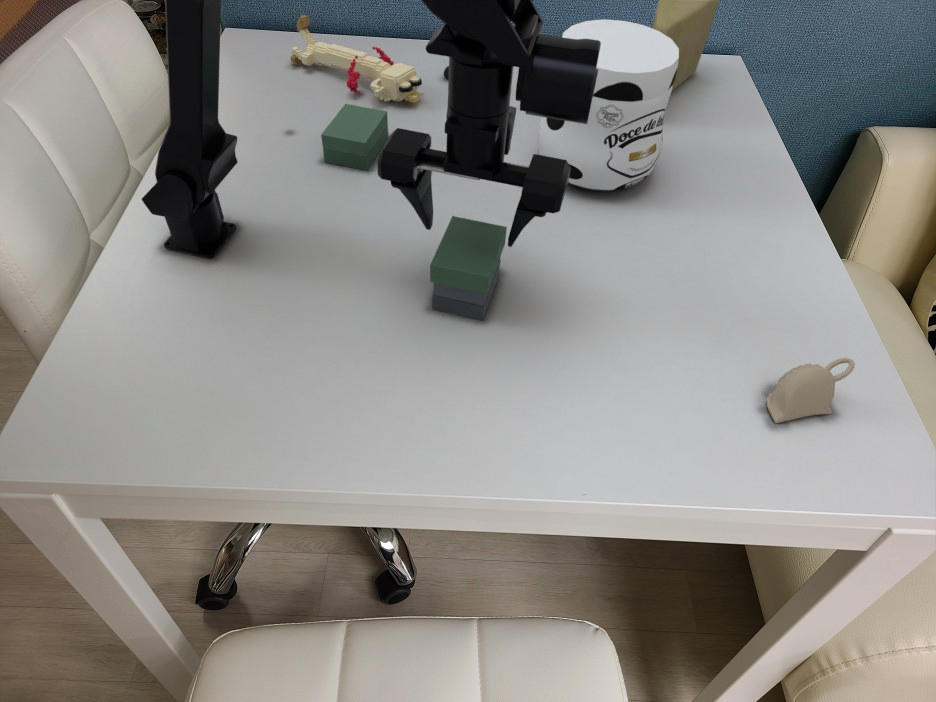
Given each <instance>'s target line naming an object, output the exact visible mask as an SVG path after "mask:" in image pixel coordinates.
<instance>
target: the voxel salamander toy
mask: <svg viewBox="0 0 936 702" xmlns="http://www.w3.org/2000/svg"><path fill="white" fill-rule="evenodd" d="M310 25H311V20H310V18H309V16H308V15H306V14H303V15H300V16H299V18H298V19H297V21H296V30H297V32H298V34H300V36H301V37H302V38H304V40H305V41H306V47H305V49H304V50H305V51H304V52H303V50H302V49H300V47H297V46H293V47H292V48H291V54H292V56H290V57H289V58H290V63H292V64H294V66H297V67H299V66H301V65H305V66H308V67H310V66H313V65H316V66H320V67H323V66H325V67H329V68H330V69H331V68H332V69H336V68H338V69H341V70H344V71H347V76H348V78H347V80H346V87H347V88H348V89H349V90H350V92H351V93H352V92H353V93H355V94H360V93H361V91H360V90H358V88H359V84H358V83H359V82H358V80H359V79H360V77H361V78H365V79H369V80H371V83H370V84H369V86H370V90H371V91H373V93H374V97H376V98H379V99H380V101H383V100H384V102H390V101H394V102H401V101H403V100H404V101H406V102H409V103H416V102H418V101H419V96H423V95H424V91H420V90H419V92H418V91H417V89H418V87H420V86H421V85H423V80H422V78H421V76H417V70H416V69H415V67H413V66H412V65H409V64H405V63H401V62H396V63H394V61H393V60H391V57H389V55H387V54H386V53H385V51H384V50H382V49H381V48H380V47H377V46H372V50H375V51H376V54H379V57H375V56H372V55H370V54H369V53H368V52H364V51H361V50H357V49H354V48H350V47H346V46H343V45H339V44H335V43H331V44H329V43H325V42H322V41H319V42H317V40H316V39H315V37H314V36H313V35H312V33H311V32H310V31H309V30H308V28H307V27H310Z"/></svg>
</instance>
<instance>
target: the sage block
mask: <svg viewBox="0 0 936 702" xmlns="http://www.w3.org/2000/svg"><path fill="white" fill-rule="evenodd" d="M507 230H508V228H507V226H504V225H498V224H494V223H488V222H484V221H479V220H475V219H471V218H464V217H459V216H455V215H452V217H451V219H450V221H449V223H448V224H447V227H446V229H445V231H444V234H443V236H442V238H441V240H440V243H439V244H438V247H437V249H436V251H435V253H434V256H433V258H432V260H431V262H430V264H429V282H430V283H431V284H434V283H436V284H441V285H445V286H450V287H454V288H459V289H463V290H468V291H472V292H477V293H482V294H487V293H488V290H489V287H490V284H491V282H492V279H493V276H494V273H495V270H496V268H497V265H498V262H499V259H500V260H501V258H500V256H501V257H502V254H503V250H504V248H505V245H506V238H507Z"/></svg>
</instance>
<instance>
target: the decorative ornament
mask: <svg viewBox="0 0 936 702" xmlns="http://www.w3.org/2000/svg"><path fill="white" fill-rule="evenodd" d="M841 364H848V366H847V368H846V369H845V370H843V371H842V372H840V373H838V374H835V375H833V373H832V372H831V371H832V369H834V368H835V367H837V366H839V365H841ZM855 366H856V364H855V361H854V360H853V359H851V358H849V357H841V358H838V359H835V360H833V361H831V362H829V363H828V364H827V365H825V366H821V365H820V364H817V363H816V364H811V363H806V364H804V365H803V364H801V365H798V366H796V367H792V368H791V369H789V370H788V371H786V372H785V373H784V374H783V375H782V376H781V377H780V378H779V379H778V380H777V383H776V384H775V385H774V389H773V391H772V392H769V393H768V396H767V397H766V406H767V409H768V412H769V413H770V415H771V418H772V419H773V422H774V423H775V424H779V423H783V422H787V421H791V420H795V419H799V418H804V417H808V416H809V417H810V416H814V415H815V416H816V415H831V414H832V413H833V411H832V408H831V405H832V402H833V400H834V397H835V390H836V383H837V382H840V381H841V380H844V379H845V378H846V377H848V376H849V375H851V373H852V372H853V371H854V368H855Z"/></svg>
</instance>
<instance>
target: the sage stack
mask: <svg viewBox="0 0 936 702" xmlns="http://www.w3.org/2000/svg"><path fill="white" fill-rule="evenodd" d="M388 124H389V122H388V111H387V110H381V109H376V108H371V107H365V106H360V105H354V104H349V103H344V104H343V106H342V107H341V108H340V110H339V111H338V112H337V113H336V115H335V116H334V117H333V119H332V120H331V121H330V122H329V124H328V125H327V126H326V128H325V129H323V131H322V133H320V134H321V144H322V152H323V159H324V163H328V164H334V165H337V166H343V167H348V168H353V169H358V170H362V171H368V170H369V169H370V167H371V165H372V164H373V163H374V161H375V159H376V158H377V157H378V155H379V152H380V151H381V149H382V147H383V146H384V144H385V143H386V141H387V140H388V138H389V125H388Z"/></svg>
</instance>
